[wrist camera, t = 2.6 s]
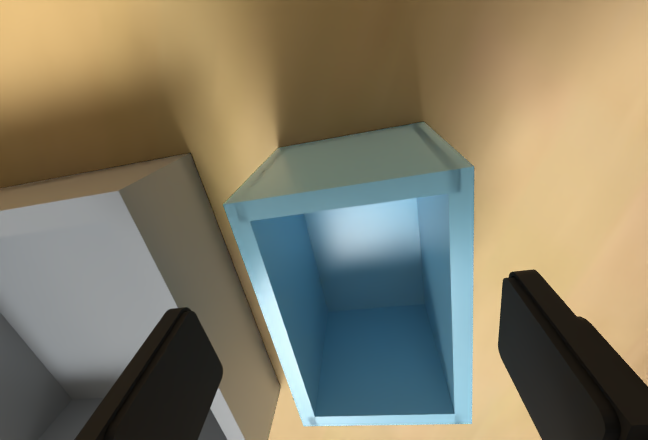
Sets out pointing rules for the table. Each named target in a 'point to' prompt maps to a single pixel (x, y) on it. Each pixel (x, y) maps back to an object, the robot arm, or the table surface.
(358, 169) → the teal crate
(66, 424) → the grey square tray
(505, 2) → the table surface
